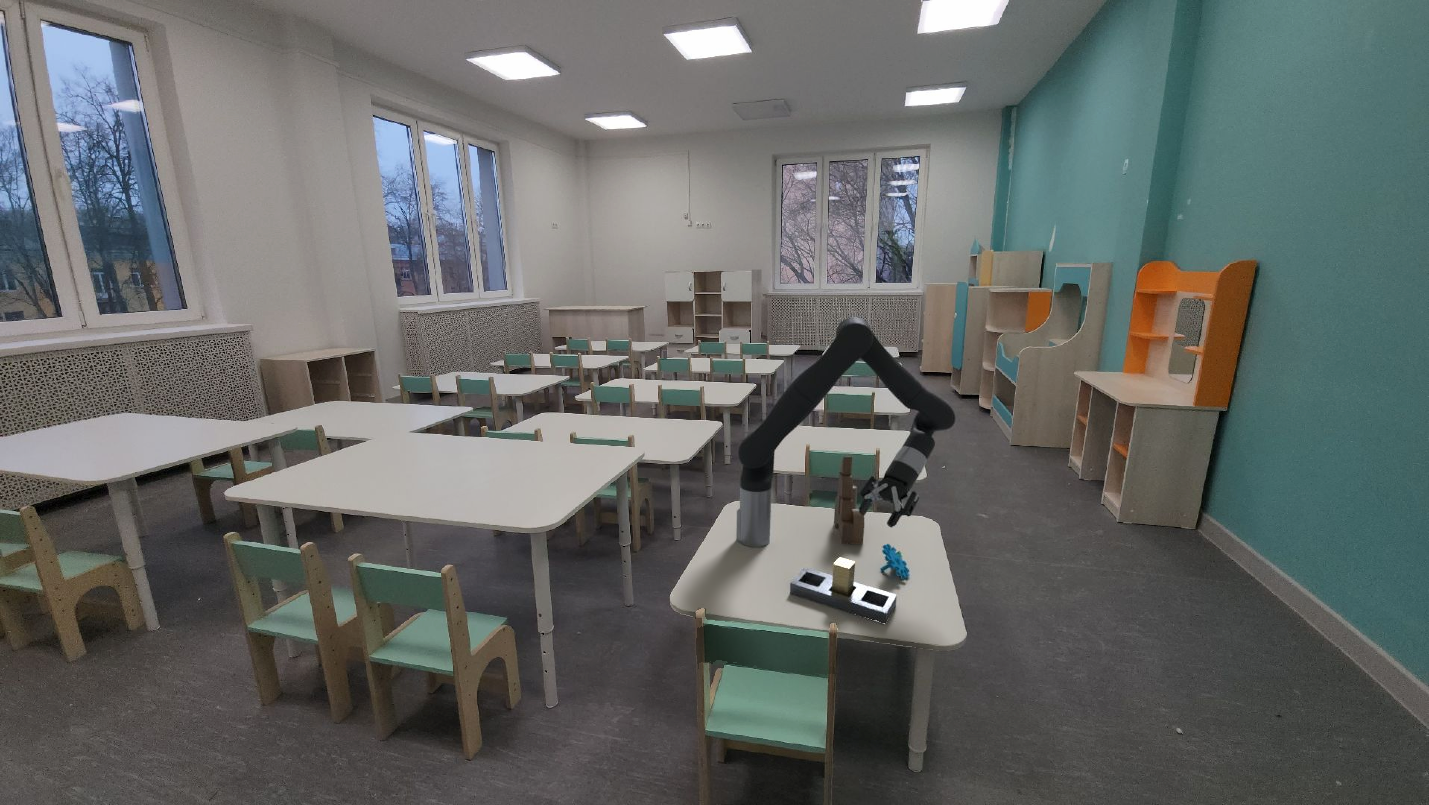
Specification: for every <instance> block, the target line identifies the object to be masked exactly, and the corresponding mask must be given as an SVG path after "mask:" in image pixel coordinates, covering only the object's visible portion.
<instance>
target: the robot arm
mask: <svg viewBox="0 0 1429 805" xmlns="http://www.w3.org/2000/svg"><path fill="white" fill-rule="evenodd" d="M860 359H861V360H862V361H863V362H864V363H865V364H866V365H867V366H868V367H869V368H870V369H871V370H872V371H873V372H874V374H875V375H876V376H877V377H878V379H879V380H880V381H881V382H882V384H883V385H884V386H885V387H886V388H887V390H888V391H890V393H891V394H892V395H893V396H894V397H895V398H896V399H897V400H898V401H899V402H900V403H901V404H902V405H903V406H904V407H905V408H907V409H909V410H915V411H917V413H916V414H915V416H914V418H913V421H912V424H911V428H910V432H909V435H908V436H907V438H906V439H905V441H904V443H903V444H902V446H901V448H900V449H899V450H898V452H897V453H896V454H895V456H894V458H893V459H892V461H891V462H890V464H889V466H888V468H887V469H886V471H885V473H884V475H883V478H882V479H881V480H879V479H876V478H875V477H874V476H870V478H869V479H868V480H867V481H866V483H865V485H864V486H863V487H862V489H861V490H860V492H859V494H860V496H861V497H862V498H863V501H862V502H861V504H860V506H859V507H858V509H859V512H860V514H861V515H863V516H864V517H865V515H866V514H867V513H868V510H869V509H870V507H871V505H872V503H875V502H876V501H880V500H883V501H886V502H890V503H891V504H894V510H893V511H892V513H891V515H890V516H889V518H888V520H887V521H886V525H887V526H888V528H889V527H890V528H893V527H895V526H897V523H899V521H900V519H901V517H902V516H906V517H910V516H911V515H912V513H913V512H914V510H915V508H916V505H917V504H918V502H919V500H920V497H919V495H918V493H917V492H916V491H911V490H912V488H913V487H914V485H915V484H916V481H917V480H918V478H919V476H920V475H921V474H922V472H923V469H924V467H925V465H926V463H927V460H928V459H929V458H930V456H931V454H932V452H933V451H934V449H935V445H936V441H935V439H934V437H933V435H934V434H935V432H940V431H947V430H949V429H951V428H952V427H953V426H954V425H955V423H956V415H955V411H954V410H953V408H952V406H950V404H949V403H947V401H945V400H943V399H942V398H941V397H939V396H938V395H936V394H934V393H933V392H931V391H929V390H928V389H926V388H925V387H924V385H923V384H921V382H920V381H918V379H917V378H916V377H915V376H914V375H912V374H911V373H910V372H909V370H908V369H906V368H905V367H904V366H903V365H902V364H901V363H900V362H899V361H898V360H897V359H896V358H895V357H893V355H892V354H891V353H890V352H889V351H888V350H887V349H886V348H885V347H884V346H883V344H882V343H881V342H880V340H879V339H878V338H877V336H876V335H875V333H874V332H873V330H872V328H871V326H870V325H869V323H868V322H867V321H866V320H864V319H863V318H861V317H857V316H850V317H847V318H845V319H843V320H842V321H840V322H839V324H838V326H837V328H836V331H835V337H834V339H833V341H832V342H831V343H830V345H829V347H827V349H826V351H825V352H824V353H823V354H822V355H821V356H820V358H818V360H817V361H815V362H814V363H813V364H812V365H810V366H809V367H808V368H806V369H805V370H803V372H801V373H800V374H799V375H798V376H797V377H795V379H794V380H793V381H792V382H791V384H790V385H788V387H787V388H786V390H785V391H783V393H782V394H781V396H780V397H779V398H778V400H777V401H776V403H775V404H774V405H773V407H772V409H771V411H770V412H769V414H768V415H767V416H766V418H765V419H764V420H763V422H762V423H761V424H760V425H759V426H758V427H757V428H756V429H755V430H753V431H752V432H750V433H748V434H747V435H746V436H745V437H744V438H743V440H742V441H741V442H740V443H739V444H740V445H739V446H738V452H737V454H738V460H739V461H740V464H742V471H741V475H740V478H739V480H740V481H739V508H738V509H737V510H736V530H735V531H736V535H735V536H736V537H735V538H736V541H739V542H740V543H741V544H742V545H744V546H747V547H751V548H752V547H753V548H759V547H765V546H766V545H768V544H769V543H770V541H771V520H772V519H771V518H772V516H771V514H772V487H773V486H772V485H773V484H772V483H773V478H774V473H775V472H774V470H775V469H774V468H775V451H776V449H777V448H778V447H779V445H780V444H781V443H782V441H783V440H784V439H785V438H786V437H787V436H788V435H789V434H790V433H792V432H793V431H794V430H795V429H796V428H797V427H798V426H799V425H800V424H801V423H802V422H804V420H806V418H808V416H809V415H811V414H812V413H813V411H814V410H815V408H817V407H818V406H819V404H820V403H821V402H822V401H823V400H824V398H825V397H826V396H827V395H828V394H829V392H830V391H831V390H832V389H833V387H834V386H835V385H836V384H837V382H838V381H839V379H840V378H841V377H842V375H844V374H845V373H846V372H847V371H848V370H849V369H850V368H852V366H853V365H854V364H856V362H858V361H859V360H860ZM877 486H878V487H877ZM906 498H907V500H906V503H905V505H904V504H903V500H905V499H906Z"/></svg>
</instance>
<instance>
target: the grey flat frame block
mask: <svg viewBox="0 0 1429 805" xmlns="http://www.w3.org/2000/svg"><path fill="white" fill-rule="evenodd" d="M832 581H833V574H828V573H825V572H822V571H819V570H816V569H812V568H809V567H805V566H804V567H803V569H801V570H800V572H799V573H798V574H797V575H796V576H795V577H794V578H793V579H792V580H791V582H790V584H789V585H790V586H789V587H790V588H789V595H790V594H791V595H794V596H796V597H800V598H802V599H806V600H809V601H812V602H814V603H818V604H820V605H824V606H826V607H830V608H833V609H837V610H839V611H841V612H845V613H849V614H851V615H854V614H856V615H855V616H857V615H859V616H858V617H860V616H861V617H860V618H863V617H866V618H869V619H872V620H877V621H879V622H881V623H885V624H887V623H886V622H888V621H889V619H890V617H891V615H892V614H893V612H892V611H894V610H895V608H896V606H897V598H898V597H897V596H898V595H897V594H896V593H893V592H890V591H889V592H888V591H886V590H882V589H879V588H876V587H872V586H869V585H866V584H862V583H859V582H856V581H854V586H853V593H852V595H851V596H850V597H847V596H844V595H841V594H838V593H835V592H832ZM808 583H809V584H808ZM878 605H879V606H878ZM882 606H883V607H882ZM891 613H892V614H891ZM866 618H865V619H866ZM888 618H889V619H888ZM869 619H868V620H869ZM872 620H871V621H872ZM887 620H888V621H887ZM881 623H880V624H881Z"/></svg>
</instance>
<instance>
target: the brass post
mask: <svg viewBox="0 0 1429 805" xmlns="http://www.w3.org/2000/svg"><path fill="white" fill-rule="evenodd" d="M832 565H833V566H832V567H833V568H832V569H833V570H832V576H833V581H832V592H835V593H838V594H841V595H844V596H847V597H850V596H851V595H852V593H853V586H854V582H855V570H856V569H855V568H856V561H855V560H850V559H847V558H844V557H840V556H839V558H837V559H836V560H835V562H833V564H832Z"/></svg>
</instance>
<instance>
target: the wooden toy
mask: <svg viewBox="0 0 1429 805" xmlns="http://www.w3.org/2000/svg"><path fill="white" fill-rule="evenodd" d="M838 469H839V472H838V485H837V486H838V487H837V496H835V498H834V499H835V500H834V516H833V525H834V528H835V529H836V530H839V541H840V544H841V545H864V534H865V515H864V516H863V515H861V514H860V512H859V508H858V509H857V496H858V486H856V485H854V482H853V481H854V480H853V476H852V472H853V471H852V469H853V456H849V455H848V456H847V455H846V456H843V458H842V459H841V462H840V465H839V467H838Z"/></svg>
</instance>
